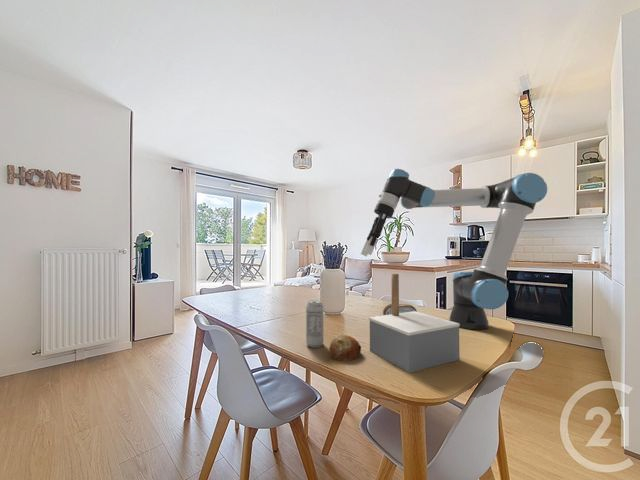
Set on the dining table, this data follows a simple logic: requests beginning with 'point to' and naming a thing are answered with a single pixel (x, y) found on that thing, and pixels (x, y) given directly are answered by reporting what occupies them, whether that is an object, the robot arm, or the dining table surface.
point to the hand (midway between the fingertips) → (365, 254)
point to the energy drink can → (314, 323)
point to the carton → (415, 347)
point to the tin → (402, 309)
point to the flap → (410, 317)
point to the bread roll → (344, 348)
